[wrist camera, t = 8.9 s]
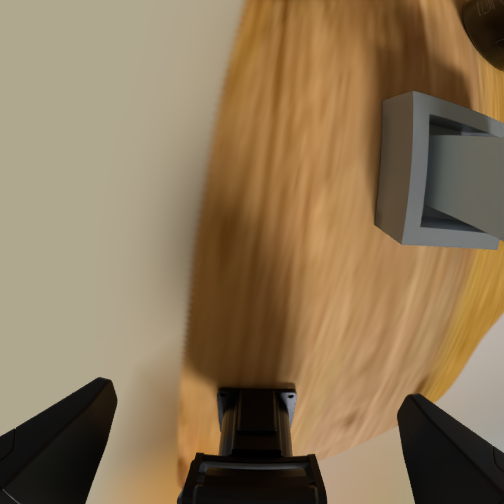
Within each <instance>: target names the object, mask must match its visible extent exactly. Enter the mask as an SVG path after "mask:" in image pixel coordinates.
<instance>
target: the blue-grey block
mask: <svg viewBox="0 0 504 504" xmlns="http://www.w3.org/2000/svg"><path fill="white" fill-rule="evenodd" d="M423 204H424V205H427V206H429V207H431V208H434V209H436V210H439V211H441V212H443V213H445V214H448V215H450V216H452V217H455V218H457V219H459V220H461V221H463V222H466V223H468V224H470V225H472V226H474V227H476V228H478V229H480V230H482V231H484V232H486V233H488V234H490V235H492V236H494V237H496V238H498V239H500V240H502V241H504V138H500V137H484V136H456V135H429V146H428V163H427V175H426V186H425V195H424V203H423Z"/></svg>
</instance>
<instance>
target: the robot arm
mask: <svg viewBox="0 0 504 504" xmlns="http://www.w3.org/2000/svg"><path fill="white" fill-rule="evenodd" d="M223 393H225V394H223ZM217 398H218V410H219V422H220V431H221V438H220V446H219V455H208V454H204V453H198V452H197V453H196V456H195V459H194V460H192V462H191V465H190V470H189V473H188V476H187V479H186V482H185V485H184V487H183V489H182V491H181V493H180V495H179V497H178V499H177V504H327V496H326V490H325V487H324V483H323V480H322V476H321V473H320V469H319V466H318V462H317V459H316V456H315V454H308V455H307V456H293V455H292V444H291V433H290V428H291V424H292V419H293V414H294V409H295V404H296V399H297V393H296V391H295V390H294V389H241V388H219V389H218V393H217ZM116 407H117V396H116V393H115V390H114V386H113V383H112V381H111V380H109V379H105V378H102V377H98V378H96V379H95V380H93V381H92V382H90V383H88V384H87V385H85V386H84V387H82V388H80V389H79V390H77V391H76V392H74V393H72V394H71V395H69V396H67V397H66V398H64V399H62V400H61V401H59V402H57V403H56V404H54V405H53V406H51V407H49V408H48V409H46V410H45V411H43V412H41V413H39V414H38V415H36V416H34V417H33V418H31V419H29V420H28V421H26V422H24V423H23V424H21V425H19V426H18V427H16V429H13V430H11V431H9V432H7V433H6V434H4V435H2V436H0V504H85V503H86V500H87V497H88V494H89V491H90V488H91V486H92V482H93V480H94V477H95V474H96V472H97V469H98V466H99V463H100V461H101V458H102V455H103V453H104V450H105V447H106V444H107V441H108V437H109V433H110V429H111V425H112V421H113V418H114V414H115V410H116ZM397 420H398V426H399V431H400V438H401V444H402V450H403V455H404V460H405V464H406V468H407V471H408V476H409V480H410V484H411V488H412V492H413V496H414V501H415V504H504V453H503V452H502V451H500V450H499V449H497V448H496V447H494V446H492V445H491V444H490V443H488V442H487V441H486V440H484V439H482V438H481V437H480V436H479V435H477V434H476V433H474V432H473V431H471V430H470V429H469V428H467V427H466V426H464V425H463V424H461V423H460V422H459V421H457V420H455V419H454V418H453V417H451V416H450V415H449V414H447V413H446V412H444V411H443V410H442V409H440V408H439V407H438V406H436V405H435V404H433V403H432V402H431V401H429V400H428V399H426V398H425V397H424V396H422V395H421V394H419V393H415V394H409V395H407V396H406V398H405V399H404V401H403V403H402V405H401V407H400V409H399V410H398V413H397Z"/></svg>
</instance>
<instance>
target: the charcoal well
mask: <svg viewBox="0 0 504 504" xmlns="http://www.w3.org/2000/svg"><path fill="white" fill-rule="evenodd" d="M429 135H456V136H484V137H500V138H504V123H502V122H500V121H497V120H495V119H493V118H491V117H488V116H486V115H483V114H481V113H479V112H476V111H473V110H471V109H468V108H466V107H463V106H460V105H457V104H455V103H452V102H449V101H446V100H443V99H440V98H437V97H433V96H430V95H427V94H423V93H420V92H416V91H410V92H407V93H404V94H401V95H398V96H395V97H391V98H388V99H386V100H383V113H382V146H381V163H380V177H379V189H378V199H377V208H376V217H375V226H377V227H378V228H379V229H381V230H382V231H384V232H385V233H386V234H388V235H389V236H391V237H392V238H393V239H395V240H396V241H397V242H399V243H400V244H401V245H420V246H440V247H458V248H476V249H493V250H497V249H498V245H499V240H500V239H498V238H496V237H494V236H492V235H490V234H488V233H486V232H484V231H482V230H480V229H478V228H476V227H474V226H472V225H470V224H468V223H466V222H463V221H461V220H459V219H457V218H455V217H452V216H450V215H448V214H445V213H443V212H441V211H439V210H436V209H434V208H431V207H429V206H427V205H424V204H423V203H424V195H425V186H426V175H427V163H428V146H429Z"/></svg>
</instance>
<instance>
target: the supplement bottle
mask: <svg viewBox="0 0 504 504" xmlns="http://www.w3.org/2000/svg"><path fill="white" fill-rule="evenodd" d="M463 20H464V24H465V27H466V30H467V32H468V34H469V37H470V38H471V40H472V42H473V44H474V45H475V47H476V48H477V50H478V51H479V52H480V54H481V55H482V56H483V57H484V58H485V59H486V60H487V61H488V62H489V63H490V64H491V65H492V66H494V67H495V68H497V69H499V70H501V71H504V0H469V1H467V2H466V3H465V5H464V8H463Z"/></svg>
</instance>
